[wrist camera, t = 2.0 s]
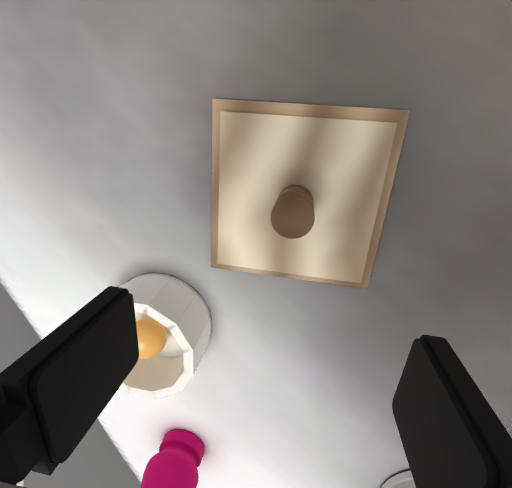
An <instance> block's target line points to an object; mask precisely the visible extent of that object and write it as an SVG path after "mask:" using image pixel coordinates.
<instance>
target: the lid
mask: <svg viewBox="0 0 512 488" xmlns="http://www.w3.org/2000/svg"><path fill="white" fill-rule="evenodd" d="M396 127H397V123H393V122H377V121H361V120H346V119H330V118H315V117H299V116H284V115H268V114H253V113H237V112H222V111H220V162H219V214H218V264H223V265H230V266H238V267H245V268H252V269H260V270H267V271H274V272H282V273H289V274H296V275H304V276H311V277H318V278H326V279H333V280H340V281H348V282H355V283H361V280H362V276H363V272H364V267H365V263H366V258H367V254H368V250H369V245H370V241H371V237H372V232H373V228H374V223H375V219H376V215H377V210H378V206H379V201H380V197H381V193H382V188H383V184H384V180H385V175H386V171H387V166H388V162H389V158H390V153H391V149H392V145H393V140H394V136H395V131H396Z"/></svg>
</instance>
